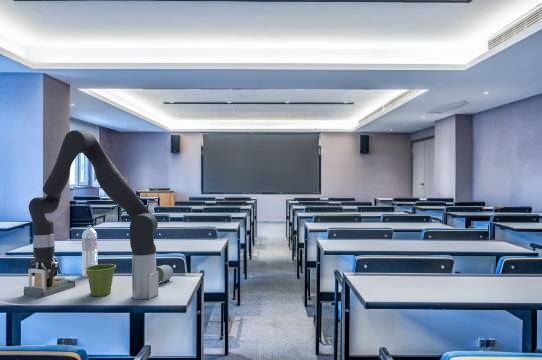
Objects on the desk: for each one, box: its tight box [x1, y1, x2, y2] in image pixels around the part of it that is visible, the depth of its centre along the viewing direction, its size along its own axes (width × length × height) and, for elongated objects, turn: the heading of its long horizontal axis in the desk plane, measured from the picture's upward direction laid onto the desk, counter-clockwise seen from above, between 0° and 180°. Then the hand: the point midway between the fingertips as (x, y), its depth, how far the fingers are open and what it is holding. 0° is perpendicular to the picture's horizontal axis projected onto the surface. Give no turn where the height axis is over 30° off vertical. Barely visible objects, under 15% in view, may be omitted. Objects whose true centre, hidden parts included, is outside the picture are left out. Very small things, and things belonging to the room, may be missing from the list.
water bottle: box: [81, 224, 99, 278], centre depth 181 cm, size 7×7×25 cm
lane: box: [23, 279, 76, 299], centre depth 156 cm, size 10×16×4 cm, turn 162°
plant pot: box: [85, 263, 117, 297], centre depth 153 cm, size 12×12×11 cm
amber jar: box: [33, 269, 56, 290], centre depth 154 cm, size 5×5×8 cm
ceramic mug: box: [156, 264, 174, 285], centre depth 172 cm, size 11×8×8 cm
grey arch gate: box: [27, 268, 45, 291], centre depth 150 cm, size 8×2×10 cm, turn 72°
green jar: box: [54, 276, 69, 288], centre depth 160 cm, size 5×5×4 cm
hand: (44, 286), depth 154 cm, fingers closed on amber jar, 5 cm apart
